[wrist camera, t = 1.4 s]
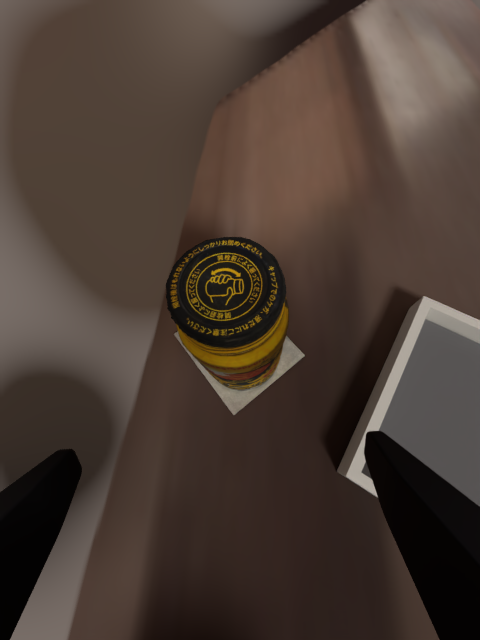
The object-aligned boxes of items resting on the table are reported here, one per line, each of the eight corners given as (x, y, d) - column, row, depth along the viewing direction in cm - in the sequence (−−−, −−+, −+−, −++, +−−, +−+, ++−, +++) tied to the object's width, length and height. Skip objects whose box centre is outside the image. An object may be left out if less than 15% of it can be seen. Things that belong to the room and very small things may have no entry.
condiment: (233, 415, 21) (203, 400, 10) (174, 334, 24) (97, 250, 13) (304, 356, 22) (348, 283, 11) (240, 286, 25) (223, 172, 14)
